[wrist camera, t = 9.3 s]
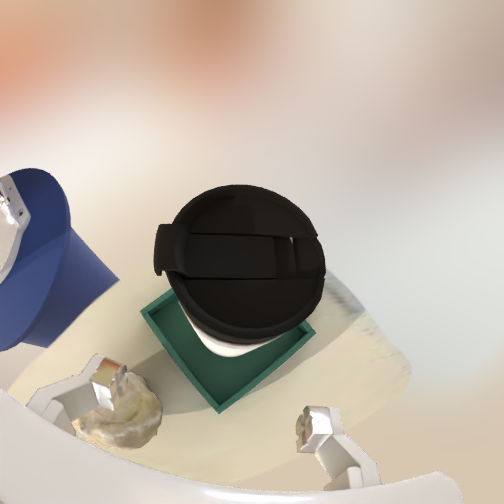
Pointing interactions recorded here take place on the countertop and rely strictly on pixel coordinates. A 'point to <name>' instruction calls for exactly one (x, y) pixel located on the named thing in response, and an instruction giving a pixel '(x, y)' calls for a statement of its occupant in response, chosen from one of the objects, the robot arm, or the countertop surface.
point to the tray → (212, 365)
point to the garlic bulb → (124, 418)
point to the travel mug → (241, 266)
